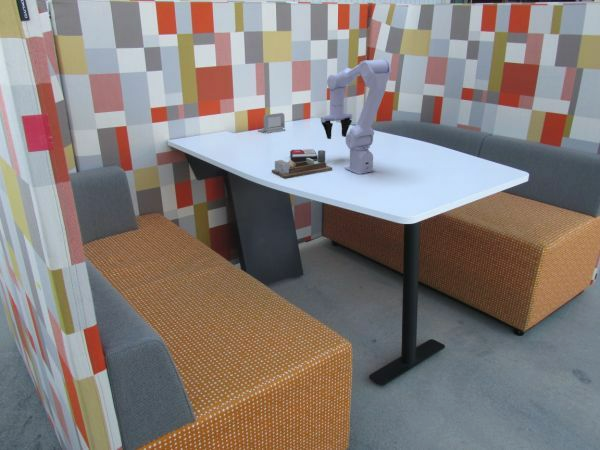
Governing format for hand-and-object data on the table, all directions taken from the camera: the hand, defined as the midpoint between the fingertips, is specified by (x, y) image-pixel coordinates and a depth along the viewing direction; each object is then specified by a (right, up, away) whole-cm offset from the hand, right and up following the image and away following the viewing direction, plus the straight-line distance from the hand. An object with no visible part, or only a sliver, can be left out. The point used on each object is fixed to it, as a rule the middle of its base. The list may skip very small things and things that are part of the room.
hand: (336, 137), depth 213 cm
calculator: (-14, -9, +7) cm, 18 cm away
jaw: (-9, -13, -7) cm, 17 cm away
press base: (-15, -15, -9) cm, 23 cm away
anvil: (-22, -17, -14) cm, 31 cm away
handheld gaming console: (-32, +15, +68) cm, 77 cm away
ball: (-19, -14, -13) cm, 27 cm away
